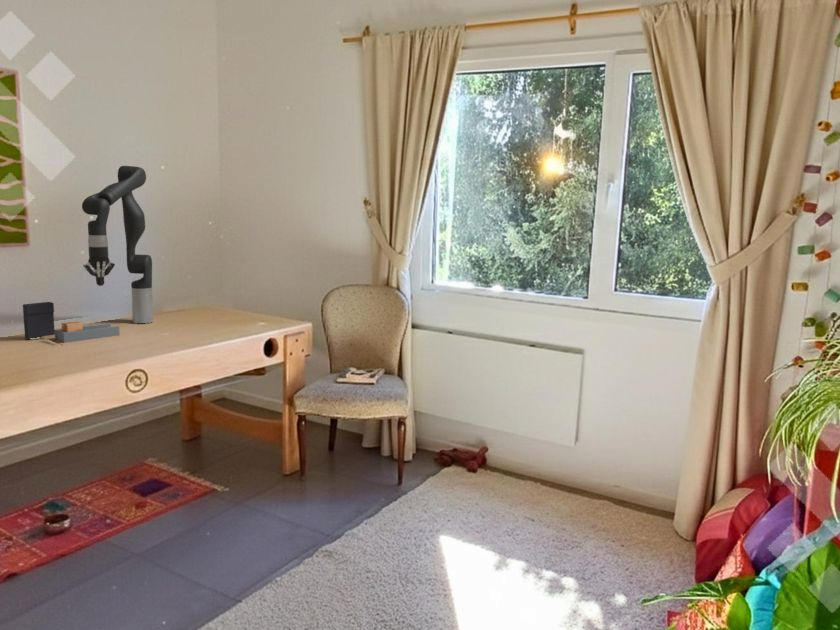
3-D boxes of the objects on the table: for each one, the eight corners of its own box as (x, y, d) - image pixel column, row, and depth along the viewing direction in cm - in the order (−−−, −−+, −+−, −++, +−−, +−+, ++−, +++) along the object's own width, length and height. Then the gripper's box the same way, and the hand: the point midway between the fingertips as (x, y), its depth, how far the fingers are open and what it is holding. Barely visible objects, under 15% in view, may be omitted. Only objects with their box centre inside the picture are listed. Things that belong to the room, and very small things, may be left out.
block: (62, 338, 276) (61, 322, 275) (77, 337, 281) (76, 321, 280) (68, 341, 273) (67, 324, 271) (83, 339, 277) (82, 323, 276)
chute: (51, 340, 276) (50, 329, 275) (112, 332, 296) (112, 322, 295) (63, 345, 268) (62, 334, 268) (125, 337, 288) (125, 326, 287)
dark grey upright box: (50, 335, 287) (48, 301, 284) (55, 336, 284) (53, 302, 282) (24, 339, 278) (21, 304, 275) (28, 340, 275) (26, 305, 273)
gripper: (109, 244, 287) (111, 283, 291) (78, 245, 278) (80, 285, 281) (117, 245, 283) (119, 285, 286) (86, 246, 273) (88, 288, 276)
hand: (100, 285), depth 283 cm, fingers closed
